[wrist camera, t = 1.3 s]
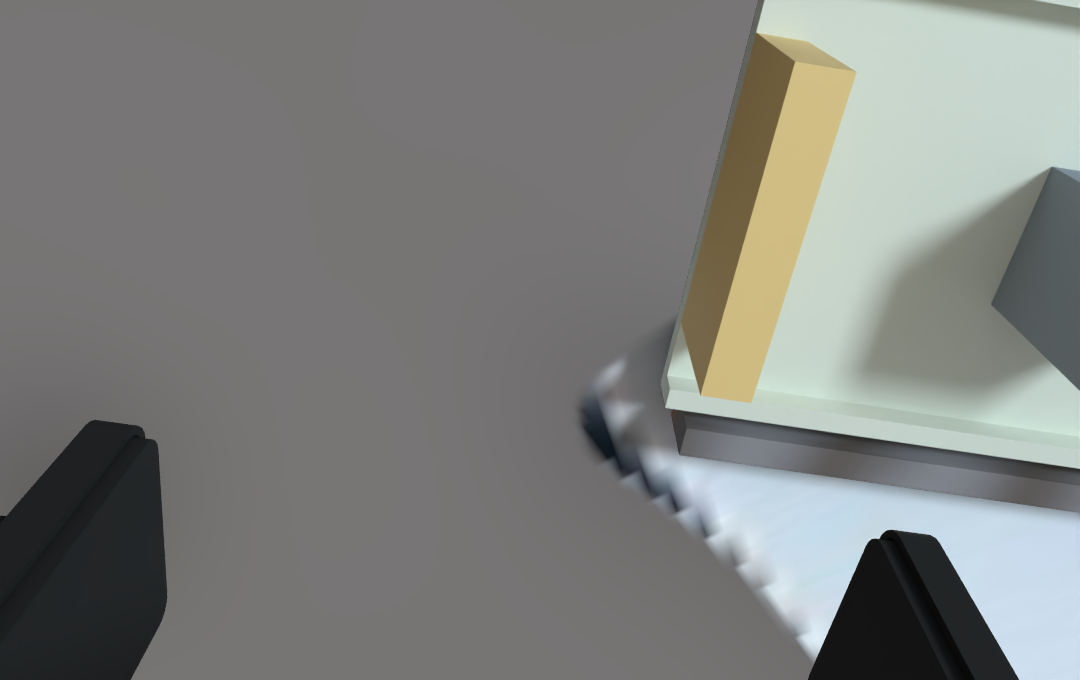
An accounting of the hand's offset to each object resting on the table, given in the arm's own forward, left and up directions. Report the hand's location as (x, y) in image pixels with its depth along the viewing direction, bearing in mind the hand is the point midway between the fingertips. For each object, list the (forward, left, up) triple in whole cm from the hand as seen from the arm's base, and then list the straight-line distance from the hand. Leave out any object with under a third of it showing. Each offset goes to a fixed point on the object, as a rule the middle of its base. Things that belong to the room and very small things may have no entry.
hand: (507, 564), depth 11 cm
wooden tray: (-16, 0, -20) cm, 25 cm away
